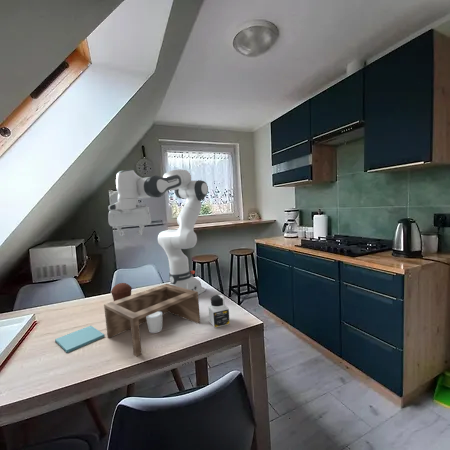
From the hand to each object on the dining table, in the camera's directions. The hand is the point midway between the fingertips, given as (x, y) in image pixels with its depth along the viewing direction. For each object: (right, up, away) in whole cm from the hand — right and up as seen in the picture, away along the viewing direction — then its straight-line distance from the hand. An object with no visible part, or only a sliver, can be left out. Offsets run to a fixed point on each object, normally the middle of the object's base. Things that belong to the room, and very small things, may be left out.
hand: (131, 235), depth 117 cm
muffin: (-16, -39, +30) cm, 52 cm away
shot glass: (+14, -40, -8) cm, 43 cm away
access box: (+14, -40, -8) cm, 43 cm away
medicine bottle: (+41, -39, -6) cm, 56 cm away
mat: (-17, -43, -12) cm, 47 cm away
